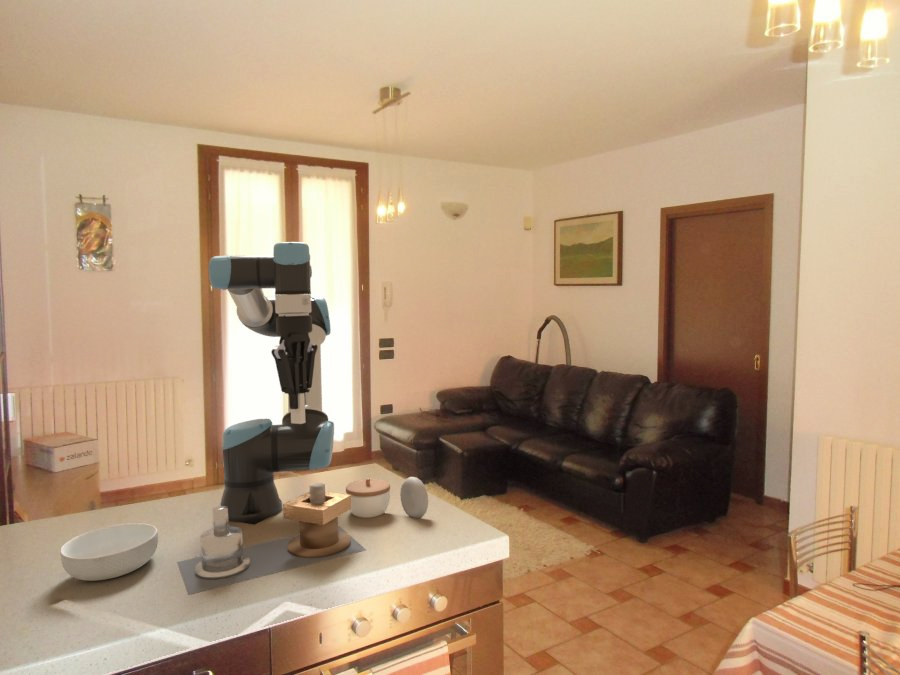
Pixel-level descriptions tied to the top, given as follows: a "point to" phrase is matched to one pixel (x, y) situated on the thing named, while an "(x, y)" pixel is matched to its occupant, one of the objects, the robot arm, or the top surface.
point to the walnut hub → (318, 533)
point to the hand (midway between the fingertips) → (298, 422)
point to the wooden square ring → (317, 508)
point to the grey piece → (414, 497)
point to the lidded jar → (368, 497)
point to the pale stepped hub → (221, 549)
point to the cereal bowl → (109, 551)
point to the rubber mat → (258, 563)
